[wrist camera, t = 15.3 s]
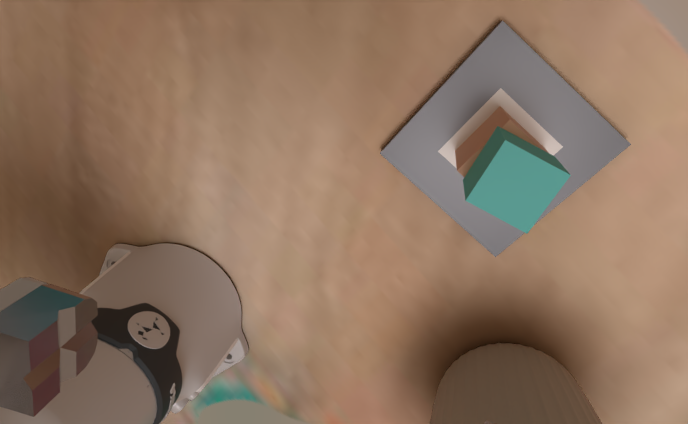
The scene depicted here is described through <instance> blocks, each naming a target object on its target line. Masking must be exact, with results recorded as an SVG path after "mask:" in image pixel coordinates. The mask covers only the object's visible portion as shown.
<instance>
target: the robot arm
mask: <svg viewBox="0 0 688 424" xmlns="http://www.w3.org/2000/svg"><path fill="white" fill-rule="evenodd" d="M115 262H116V263H115ZM241 317H242V312H241V304H240V300H239V297H238V294H237V291H236V289H235V287H234V285H233V284H232V282H231V280H230V279H229V278H228V276H227V275H226V274H225V272H224V271H223V270H222V269H221V268H220V267H219V266H218V265H217V264H216V263H215V262H213V261H212V260H211V259H209V258H208V257H206V256H205V255H203V254H202V253H200V252H198V251H196V250H194V249H191V248H188V247H185V246H182V245H177V244H169V243H162V244H154V245H149V246H144V247H137V246H133V245H128V244H115V245H114V246H113V247H112V248H110V249H109V250H108V252H107V254H106V257H105V260H104V263H103V265H102V268H101V271H100V274H99V276H98V277H97V278H96V279H95V280H94V281H92V282H91V283H90V284H89V285H87V286H86V287H85V288H84V289H83V290H82V291H81V292H80V293H76V292H73V291H70V290H67V289H64V288H61V287H59V286H56V285H53V284H48V283H45V282H42V281H39V280H36V279H33V278H31V277H25V278H19V279H18V280H16V281H14V282H12V283H11V284H9V285H7V286H6V287H4V288H2V289H0V424H160V423H161V422H162V421H163V420H164V419H165V418H166V416H167V415H168V414H169V412H170V411H172V412H173V413H175V414H176V413H178V412H179V411H180V410H181V409H182V408H183V407H184V406H185V405H186V404H187V403H188V401H189V400H190V401H192V400H193V399H194V398H195V397H196V396H197V395H198V394H199V393H200V392H201V391H202V390H203V388H204V387H205V386H206V385H207V383H208V382H209V380H210V379H211V378H213V377H214V376H216V375H218V374H219V373H221V372H223V371H224V370H226V369H228V368H229V367H231V366H233V365H234V364H236V363H238V362H239V361H241V360H242V359H243V358H244V357H245V356H246V355H247V353H248V345H247V342H246V339H245V337H244V334H243V332H242V328H241ZM229 354H231V355H229ZM484 424H496V423H493V422H490V421H485V423H484Z"/></svg>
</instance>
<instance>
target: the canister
mask: <svg viewBox="0 0 688 424" xmlns="http://www.w3.org/2000/svg"><path fill="white" fill-rule="evenodd" d="M485 421H490V422H493V423H496V424H602V422H601V421H600V419H599V417H598V416H597V414H596V412H595V411H594V409H593V407H592V406H591V404H590V402H589V401H588V399H587V397H586V396H585V394H584V393H583V391H582V389H581V388H580V386H579V385H578V383H577V382H576V380H575V379H574V377H573V376H572V375H571V374H570V373H569V372H568V371H567V370H566V369H565V367H564V366H563V365H562V364H560V363H559V362H557V361H556V360H555V359H554V358H553V357H551V356H549V355H546V354H545V353H544V352H542V351H540V350H535V349H534V348H532V347H527V346H523V345H521V344H511V343H497V344H488V345H486V346H482V347H477V348H476V349H474V350H469V351H468V352H467V353H466V354H464V355H461V356H460V357H459V359H458V360H456V361H454V362H453V363H452V365H451V367H449V368H448V369H447V370H446V372H445V374H444V376H443V377H442V379H441V381H440V384H439V387H438V390H437V393H436V397H435V401H434V406H433V410H432V415H431V420H430V424H484V423H485Z"/></svg>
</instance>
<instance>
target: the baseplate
mask: <svg viewBox="0 0 688 424" xmlns="http://www.w3.org/2000/svg"><path fill="white" fill-rule="evenodd" d="M500 106H501V107H502V108H503V109H504V110H505V111H506V112H507V113H508V114H509V115H510V116H511V117H512V118H513V119H515V120H516V121H517V122H518V123H519V124H520V125H521V126H522V127H523V128H524V129H525V130H526V131H527V132H528V133H529V134H530V135H532V136H533V137H534V138H535V139H536V140H537V141H538V142H539V143H540V144H541V145H542V146H543V147H544V148H545V149H546V150H547V151H548V153H549V154H551V155H553V156H555V157H556V158H557V160H558V161H559V162H560V163H561V164H562V165H563V167H564V168H565V169H566V170H567V171H568V172H569V174H570V175H571V176H570V177H569V178H568V180H567V181H566V182H565V184H564V185H563V186H562V188H561V189H560V190H559V192H558V193H557V194H556V196H555V197H554V198H553V200H552V201H551V202H550V204H549V205H548V206H547V208H546V209H545V211H544V212H543V213H542V215H541V216H540V217H539V219H538V220H537V221H536V223H537V222H538V221H539V220H541V219H542V218H543V217H544V216H545V215H547V214H548V213H549V212H550V211H551V210H553V209H554V208H555V207H556V206H557V205H559V204H560V203H561V202H562V201H563V200H565V199H566V198H567V197H568V196H569V195H571V194H572V193H573V192H574V191H576V190H577V189H578V188H579V187H580V186H582V185H583V184H584V183H585V182H586V181H588V180H589V179H590V178H591V177H592V176H594V175H595V174H596V173H597V172H598V171H600V170H601V169H602V168H603V167H604V166H606V165H607V164H608V163H609V162H610V161H612V160H613V159H614V158H615V157H616V156H618V155H619V154H620V153H621V152H622V151H624V150H625V149H626V148H627V147H628V146H630V145H631V144H630V143H629V142H628V141H627V140H626V139H625V138H624V137H623V136H622V135H621V134H620V133H619V132H618V131H616V130H615V129H614V128H613V127H612V126H611V125H610V124H609V123H608V122H607V121H606V120H605V119H604V118H603V117H602V116H601V115H600V114H599V113H598V112H597V111H596V110H595V109H594V108H593V107H592V106H591V105H590V104H589V103H587V102H586V101H585V100H584V99H583V98H582V97H581V96H580V95H579V94H578V93H577V92H576V91H575V90H574V89H573V88H572V87H571V86H570V85H569V84H568V83H567V82H566V81H565V80H564V79H563V78H562V77H561V76H560V75H558V74H557V73H556V72H555V71H554V70H553V69H552V68H551V67H550V66H549V65H548V64H547V63H546V62H545V61H544V60H543V59H542V58H541V57H540V56H539V55H538V54H537V53H536V52H535V51H534V50H533V49H532V48H531V47H529V46H528V45H527V44H526V43H525V42H524V41H523V40H522V39H521V38H520V37H519V36H518V35H517V34H516V33H515V32H514V31H513V30H512V29H511V28H510V27H509V26H508V25H507V24H506V23H505V22H504V21H500V22H499V23H498V25H497V26H496V27H495V28H494V29H493V30H492V31H491V32H490V33H489V34H488V35H487V36H486V38H485V39H484V40H483V41H482V42H481V43H480V44H479V45H478V46H477V47H476V48H475V49H474V51H473V52H472V53H471V54H470V55H469V56H468V57H467V58H466V59H465V60H464V61H463V62H462V64H461V65H460V66H459V67H458V68H457V69H456V70H455V71H454V72H453V73H452V74H451V75H450V77H449V78H448V79H447V80H446V81H445V82H444V83H443V84H442V85H441V86H440V87H439V88H438V90H437V91H436V92H435V93H434V94H433V95H432V96H431V97H430V98H429V99H428V100H427V101H426V103H425V104H424V105H423V106H422V107H421V108H420V109H419V110H418V111H417V112H416V113H415V114H414V116H413V117H412V118H411V119H410V120H409V121H408V122H407V123H406V124H405V125H404V126H403V127H402V129H401V130H400V131H399V132H398V133H397V134H396V135H395V136H394V137H393V138H392V139H391V140H390V142H389V143H388V144H387V145H386V146H385V147H384V148H383V149H382V150H381V152H380V154H381V155H382V156H383V157H384V158H385V159H387V160H388V161H389V162H390V163H391V164H392V165H393V166H394V167H395V168H397V169H398V170H399V171H400V172H401V173H402V174H403V175H404V176H406V177H407V178H408V179H409V180H410V181H411V182H412V183H413V184H414V185H416V186H417V187H418V188H419V189H420V190H421V191H422V192H423V193H425V194H426V195H427V196H428V197H429V198H430V199H431V200H432V201H434V202H435V203H436V204H437V205H438V206H439V207H440V208H441V209H442V210H444V211H445V212H446V213H447V214H448V215H449V216H450V217H451V218H453V219H454V220H455V221H456V222H457V223H458V224H459V225H460V226H461V227H463V228H464V229H465V230H466V231H467V232H468V233H469V234H470V235H472V236H473V237H474V238H475V239H476V240H477V241H478V242H479V243H480V244H482V245H483V246H484V247H485V248H486V249H487V250H488V251H489V252H491V253H492V254H493V255H494V256H495V257H496V256H497V255H499V254H500V253H501V252H502V251H503V250H505V249H506V248H507V247H508V246H509V245H511V244H512V243H513V242H514V241H515V240H517V239H518V238H519V237H520V236H521V235H523V234H524V233H525V232H523V231H521V230H519V229H517V228H515V227H514V226H512V225H510V224H508V223H506V222H504V221H502V220H501V219H499V218H497V217H495V216H493V215H491V214H489V213H487V212H486V211H484V210H482V209H480V208H478V207H476V206H474V205H473V204H471V203H469V202H467V201H465V193H464V185H463V179H464V177H463V176H462V175H461V174H460V173H459V172H458V171H457V167H456V157H455V150H456V149H457V148H458V147H459V146H460V145H461V144H462V143H463V142H464V141H465V140H466V139H467V138H468V137H469V136H470V135H471V134H472V133H473V132H474V131H475V130H476V129H477V128H478V127H480V126H481V125H482V124H483V123H484V122H485V121H486V120H487V119H488V118H489V117H490V116H491V115H492V114H493V113H494V112H495V111H496V110H497V109H498V108H499V107H500ZM536 223H535V224H536ZM535 224H534V225H535Z"/></svg>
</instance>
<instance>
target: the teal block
mask: <svg viewBox="0 0 688 424" xmlns="http://www.w3.org/2000/svg"><path fill="white" fill-rule="evenodd" d="M570 176H571V175H570V174H569V172H568V171H567V170H566V169H565V168H564V167H563V165H562V164H561V163H560V162H559V161H558V160H557V158H556V157H555V156H553V155H551V154H549V153H547V152H545V151H544V150H542V149H540V148H538V147H536V146H534V145H532V144H531V143H529V142H527V141H525V140H523V139H521V138H519V137H518V136H516V135H514V134H512V133H510V132H508V131H506V130H504V129H503V128H501V127H499V126H497V127H496V129H495V131H494V132H493V134H492V135H491V137H490V138H489V140H488V141H487V143H486V145H485V146H484V148H483V149H482V151H481V152H480V154H479V155H478V157H477V159H476V160H475V162H474V163H473V165H472V166H471V168H470V170H469V171H468V173H467V174H466V176H465V177H464V179H463V185H464V193H465V201H467V202H469V203H471V204H473V205H474V206H476V207H478V208H480V209H482V210H484V211H486V212H487V213H489V214H491V215H493V216H495V217H497V218H499V219H501V220H502V221H504V222H506V223H508V224H510V225H512V226H514V227H515V228H517V229H519V230H521V231H523V232H525V233H528V232H529V231H530V229H531V228H532V227H533V225H534V224H535V223H536V221H537V220H538V219H539V217H540V216H541V215H542V213H543V212H544V211H545V209H546V208H547V206H548V205H549V204H550V202H551V201H552V200H553V198H554V197H555V196H556V194H557V193H558V192H559V190H560V189H561V188H562V186H563V185H564V184H565V182H566V181H567V180H568V178H569V177H570Z"/></svg>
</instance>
